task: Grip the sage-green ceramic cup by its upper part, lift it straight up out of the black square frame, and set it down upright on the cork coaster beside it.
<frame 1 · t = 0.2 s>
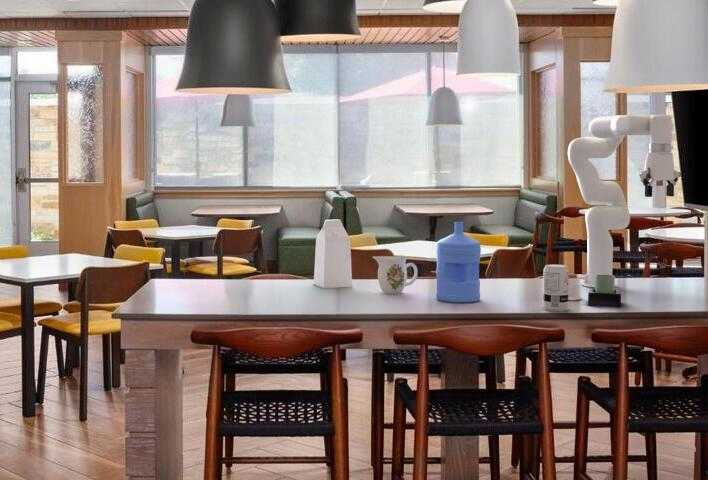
hand: (659, 196, 350), 37 cm above the table, tool pointing down, fingers open, 9 cm apart
coaster: (566, 298, 352), on the table
supplement can: (555, 310, 328), on the table
water jug: (458, 300, 349), on the table
milk: (332, 285, 384), on the table
cup: (604, 289, 340), in the black square frame
pitcher: (394, 293, 366), on the table
black square frame: (604, 304, 340), on the table
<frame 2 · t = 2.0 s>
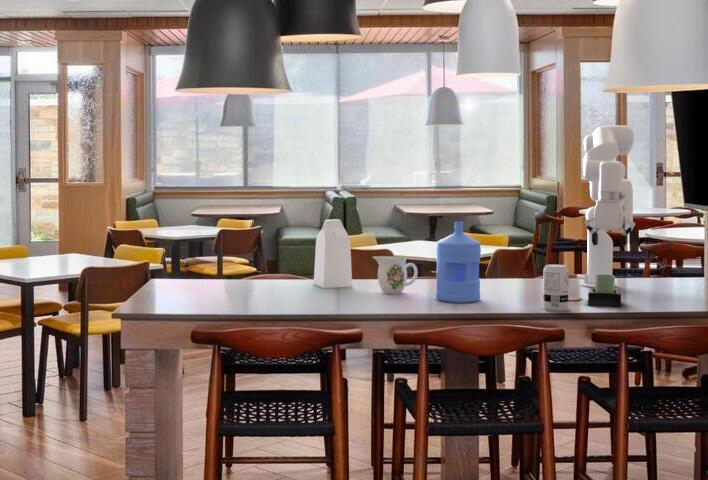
hand: (609, 245, 339), 20 cm above the table, tool pointing down, fingers open, 9 cm apart
nothing on the table moved.
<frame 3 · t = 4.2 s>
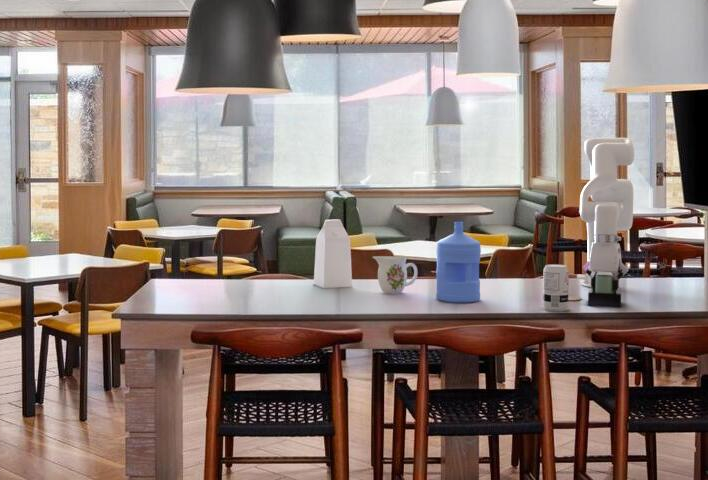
hand: (604, 289, 340), 5 cm above the table, tool pointing down, fingers closed on cup, 6 cm apart
cup: (604, 289, 340), in the black square frame, touching gripper
everything else where it was.
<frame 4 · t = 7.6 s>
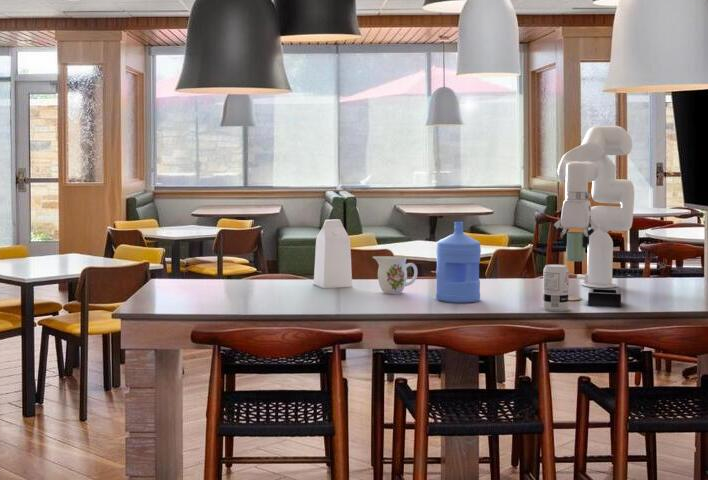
hand: (575, 246, 348), 19 cm above the table, tool pointing down, fingers closed on cup, 6 cm apart
cup: (575, 246, 348), point 19 cm above the table, touching gripper
everything else where it was.
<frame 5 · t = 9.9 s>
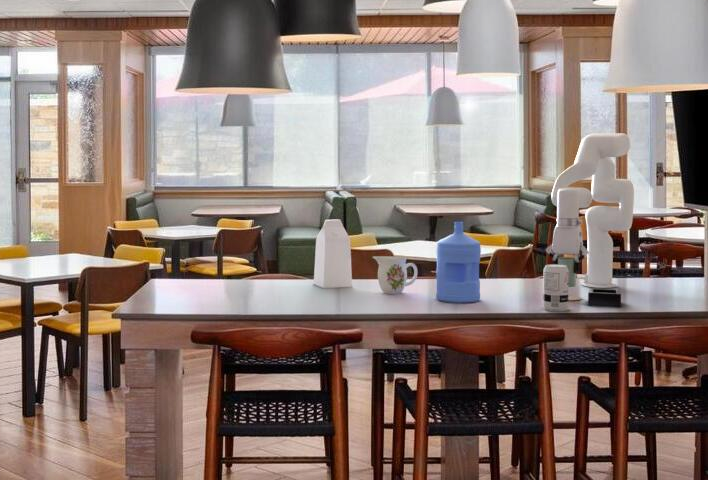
hand: (566, 271, 351), 10 cm above the table, tool pointing down, fingers closed on cup, 6 cm apart
cup: (566, 272, 351), point 10 cm above the table, touching gripper
everything else where it was.
when the fingers open (5 cm above the table, at t = 11.5 s): cup stays where it is, resting on coaster.
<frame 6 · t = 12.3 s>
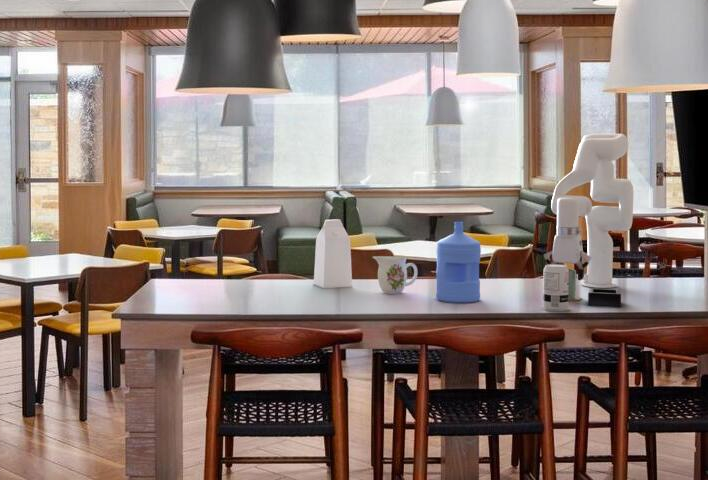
hand: (567, 278, 352), 7 cm above the table, tool pointing down, fingers open, 9 cm apart
cup: (566, 283, 351), on the coaster
everything else where it was.
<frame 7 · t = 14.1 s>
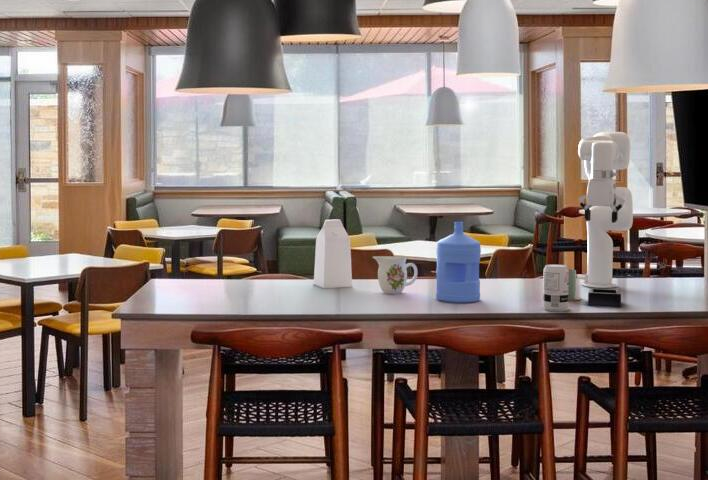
hand: (600, 221, 358), 27 cm above the table, tool pointing down, fingers open, 9 cm apart
nothing on the table moved.
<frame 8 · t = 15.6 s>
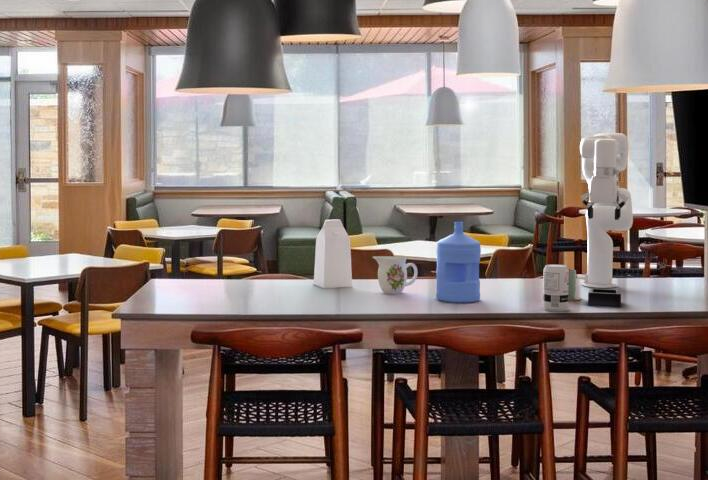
hand: (603, 219, 359), 28 cm above the table, tool pointing down, fingers open, 9 cm apart
nothing on the table moved.
at the end: cup 0.1 cm off-centre on the coaster, point 5.4 cm above the coaster's base; cup tilted 0°; cup moved 15.5 cm from its start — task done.
